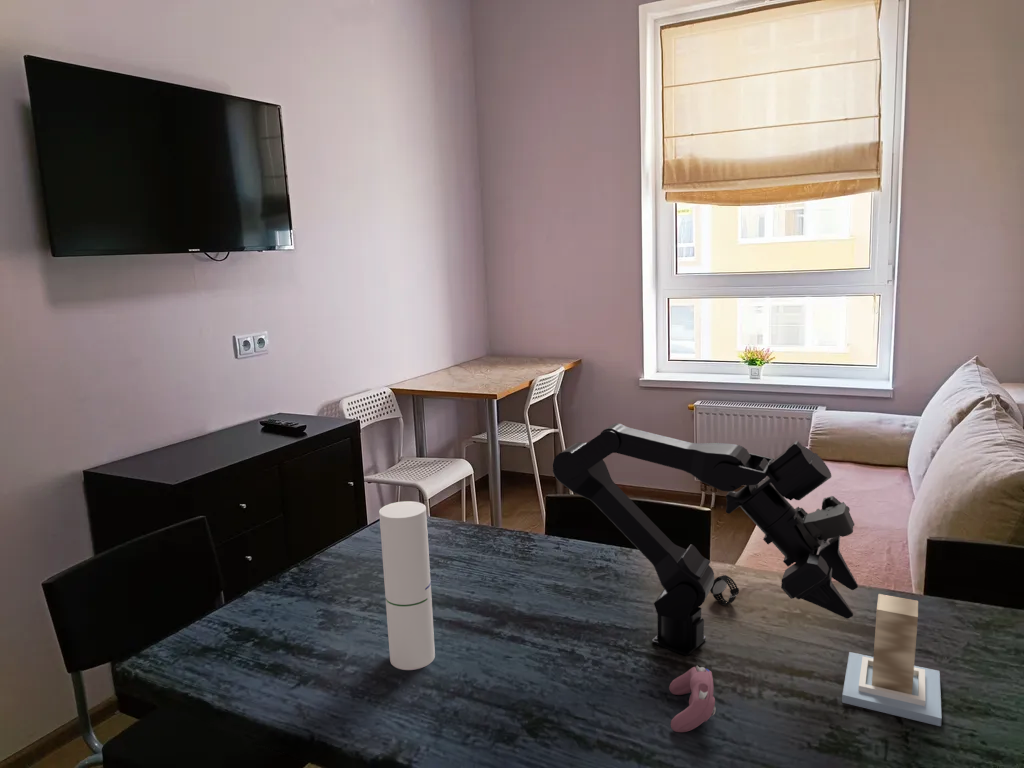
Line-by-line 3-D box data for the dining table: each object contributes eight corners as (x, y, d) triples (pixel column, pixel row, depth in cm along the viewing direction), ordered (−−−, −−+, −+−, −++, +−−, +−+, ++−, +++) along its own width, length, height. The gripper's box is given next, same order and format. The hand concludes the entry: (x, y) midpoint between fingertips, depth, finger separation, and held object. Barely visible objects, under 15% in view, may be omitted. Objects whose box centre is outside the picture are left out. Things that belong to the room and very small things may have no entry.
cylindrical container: (442, 648, 121) (433, 503, 116) (423, 673, 114) (413, 520, 109) (402, 642, 123) (393, 499, 118) (381, 665, 116) (370, 515, 111)
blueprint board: (841, 702, 103) (842, 689, 103) (849, 658, 114) (849, 647, 113) (940, 726, 98) (942, 712, 97) (938, 678, 108) (939, 666, 108)
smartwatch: (728, 596, 135) (729, 570, 134) (740, 609, 130) (741, 583, 129) (706, 598, 134) (707, 572, 133) (717, 612, 129) (718, 585, 128)
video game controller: (699, 747, 98) (724, 707, 96) (667, 730, 98) (692, 690, 96) (695, 701, 107) (718, 664, 105) (666, 686, 108) (689, 649, 106)
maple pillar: (871, 687, 105) (876, 609, 102) (873, 669, 109) (878, 593, 107) (911, 696, 102) (917, 617, 100) (912, 677, 106) (918, 600, 104)
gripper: (811, 507, 97) (899, 602, 94) (826, 467, 113) (902, 547, 110) (747, 552, 102) (829, 644, 99) (770, 508, 118) (841, 585, 116)
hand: (853, 602), depth 106 cm, fingers open, 9 cm apart
